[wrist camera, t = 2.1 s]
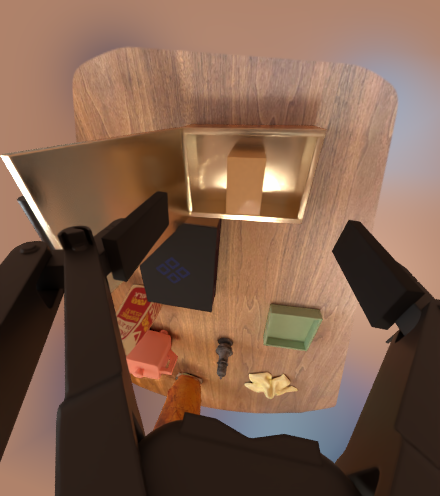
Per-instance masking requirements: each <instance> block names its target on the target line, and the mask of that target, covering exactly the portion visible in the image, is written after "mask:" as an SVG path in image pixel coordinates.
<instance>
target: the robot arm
mask: <svg viewBox="0 0 440 496" xmlns="http://www.w3.org/2000/svg"><path fill="white" fill-rule="evenodd" d="M168 226H169V213H168V196H167V192H161V191H157V192H155V193H154V194H153V195H152V196H151V197H149V198H148V199H147V200H146V201H145V202H143V203H142V204H141V205H140V206H139V207H137V208H136V209H135V210H134V211H133V212H131V213H130V214H129V215H128V216H127V217H126V218H119V219H117V220H114V221H113V222H111V223H110V224H109V225H108V226H106V227H105V228H104V229H103V230H101V231H100V232H99V233H97V234H96V235H95V236H94V237H93V234H92V231H91V229H90V227H87V226H81V225H79V226H72V227H68V228H65V229H63V230H61V231H60V232H59V233H58V235H57V236H58V239H59V241H60V243H61V245H62V247H63V249H54V250H50V249H49V247H48V245H47V244H46V242H42V241H34V242H26V243H23V244H21V245H19V246H17V247H16V248H14V249H13V250H12V251H11V252H10V253H9V255H8V256H7V257H6V258H5V260H4V261H3V262H2V264H1V265H0V461H1V459H2V456H3V453H4V451H5V448H6V445H7V443H8V440H9V437H10V435H11V432H12V430H13V427H14V424H15V421H16V419H17V416H18V414H19V411H20V408H21V406H22V403H23V400H24V398H25V395H26V392H27V390H28V387H29V384H30V382H31V379H32V376H33V374H34V371H35V368H36V366H37V363H38V360H39V358H40V355H41V353H42V350H43V347H44V344H45V342H46V339H47V336H48V334H49V331H50V329H51V326H52V323H53V321H54V318H55V315H56V313H57V310H58V307H59V304H60V302H61V299H62V297H63V294H64V309H65V310H64V312H65V314H64V315H65V399H64V401H63V402H62V404H61V405H59V408H58V412H57V420H56V466H55V496H440V300H437V299H434V297H432V295H431V294H430V293H429V292H428V291H427V290H426V289H425V288H424V287H423V286H422V285H421V284H420V283H419V282H417V279H416V278H415V277H413V276H412V274H411V273H410V272H409V271H408V270H407V269H406V268H405V267H404V266H402V265H401V264H399V263H398V262H396V261H395V260H394V258H393V257H392V256H391V255H390V254H389V253H388V252H387V251H386V250H385V249H384V247H383V246H382V245H381V244H380V243H379V242H378V241H377V240H376V239H375V238H374V236H373V235H372V234H371V233H370V232H369V231H368V230H367V229H366V228H365V227H364V226H363V224H362V223H361V222H359V221H353V220H348V222H347V224H346V226H345V228H344V230H343V231H342V233H341V235H340V237H339V239H338V241H337V243H336V244H335V246H334V248H333V250H332V252H333V254H334V256H335V258H336V260H337V262H338V264H339V266H340V268H341V269H342V271H343V273H344V275H345V277H346V279H347V281H348V283H349V285H350V287H351V288H352V290H353V292H354V294H355V296H356V298H357V300H358V302H359V304H360V306H361V307H362V309H363V311H364V313H365V315H366V317H367V319H368V321H369V323H370V324H371V326H372V327H375V328H380V329H386V330H388V329H389V328H390V327H391V326H392V325H393V324H394V323H396V325H397V326H398V327H399V330H398V331H397V332H396V333H395V334H394V335H393V336H392V337H391V338H389V339H388V340H387V341H386V343H389V342H391V344H390V346H389V348H388V351H387V353H386V355H385V358H384V360H383V363H382V365H381V367H380V370H379V372H378V374H377V377H376V379H375V381H374V384H373V386H372V389H371V391H370V393H369V396H368V398H367V400H366V403H365V405H364V407H363V410H362V412H361V415H360V417H359V420H358V422H357V424H356V427H355V429H354V431H353V434H352V436H351V438H350V441H349V443H348V445H347V447H346V450H345V451H344V453H343V454H342V455H341V456H340V457H339V459H337V461H336V462H335V464H334V463H333V462H332V461H331V460H329V459H328V458H327V457H325V456H324V455H323V454H321V453H320V449H319V443H318V441H313V440H309V439H305V438H300V437H295V436H291V435H287V434H280V435H273V436H266V437H258V438H248V437H246V436H244V435H243V434H241V433H239V432H237V431H236V430H234V429H233V428H231V427H229V426H228V425H226V424H224V423H222V422H221V421H219V420H218V419H215V418H211V417H206V416H202V415H197V414H193V413H188V412H184V417H183V420H176V421H172V422H169V423H166V424H164V425H162V426H160V427H158V428H157V429H155V430H153V431H152V432H150V433H149V434H148V435H147V436H145V432H144V428H143V424H142V420H141V417H140V413H139V410H138V407H137V403H136V399H135V394H134V390H133V386H132V381H131V377H130V373H129V369H128V364H127V360H126V356H125V351H124V347H123V343H122V339H121V334H120V330H119V326H118V321H117V317H116V313H115V309H114V304H113V300H112V296H111V291H110V287H109V283H108V279H107V276H108V275H109V274H110V272H111V273H112V276H113V279H114V280H119V281H125V282H127V281H128V279H129V278H130V277H131V275H132V274H133V273H134V271H135V270H136V269H137V267H138V266H139V265H140V263H141V262H142V261H143V259H144V258H145V257H146V255H147V254H148V253H149V251H150V250H151V249H152V247H153V246H154V245H155V243H156V242H157V241H158V239H159V238H160V237H161V235H162V234H163V233H164V231H165V230H166V229H167V227H168Z"/></svg>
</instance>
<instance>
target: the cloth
mask: <svg viewBox="0 0 440 496" xmlns="http://www.w3.org/2000/svg"><path fill="white" fill-rule="evenodd" d="M249 378H250V380H251V381H252V382H253V383H245V386H246V387H247V388H248V389H250V390H253V391H255V392H257V393H259V392H263V391H264V393H265V395H266V397H268V398H269V399H272V398H273V397H274V396H275V395H278V396H279V395H282V394H283V393H285V392H293V391H298V390H297V389H296V388H295V387H293V386H289V387H286V386H288V385H289V384H290V380H289V379H288V378H287V377H286V376H285V375H284V374H283V375H282V376H280V377H277V378H272V375H271V374H270V373H268V372H265V373H258V374H249Z"/></svg>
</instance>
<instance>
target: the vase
mask: <svg viewBox="0 0 440 496" xmlns="http://www.w3.org/2000/svg"><path fill="white" fill-rule="evenodd" d="M202 383H203V382H202V379H200V378H197V377H194V376H192V375H188V374H184V373H183V374H181V373H179V375H177V377H176V381H175V383H174V385H173V386H172V388H171V389H169V391H168V395H167V399H166V402H165V404H164V406H163V409H162V411H161V413H160V415H159V418H158V420H157V422H156V425H155V427H154V429H153V430H155V429H157V428H158V427H160V426H162V425H164V424H166V423H169V422H172V421H176V420H183V417H184V412H188V413H193V414H197V415H200V406H201V386H200V384H202Z"/></svg>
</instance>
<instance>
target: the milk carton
mask: <svg viewBox="0 0 440 496" xmlns="http://www.w3.org/2000/svg"><path fill="white" fill-rule="evenodd" d="M161 308H162V305H161V304H159V303H153V302H148V301H147V297H146V292H145V288H144V286H142V285H133V286H132V288H131V289H130V291H129V292H128V294H127V295H126V297H125V299H124V300H123V302H122V304H121V306H120V307H119V309H118V311H117V313H116V317H117V321H118V326H119V330H120V334H121V339H122V343H123V347H124V351H125V356H127V355H128V354H129V353H130V352H131V351H132V350H133V348H134V347H135V346H136V345H137V344H138V342H139V341H140V340H141V339H142V338H143V337H144V335H145V334H146V332H147V331H148V329H149V328H150V326H151V325H152V324H153V322H154V321H155V319H156V317H157V316H158V314H159V312H160V310H161Z"/></svg>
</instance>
